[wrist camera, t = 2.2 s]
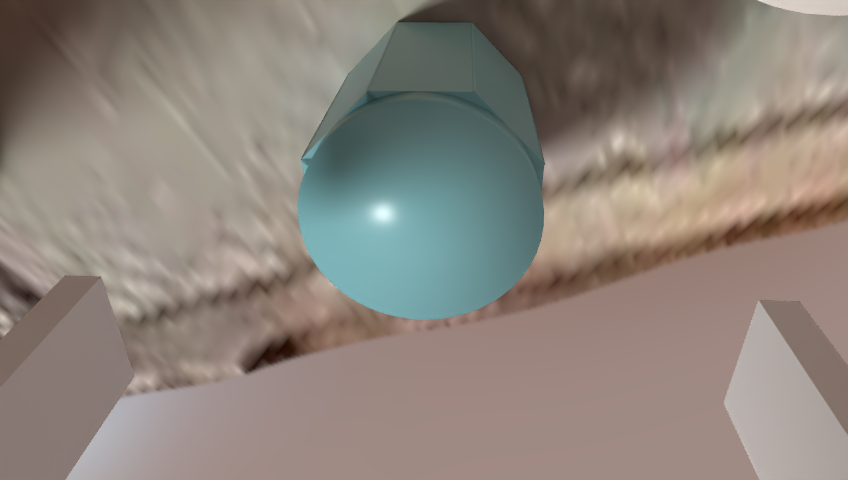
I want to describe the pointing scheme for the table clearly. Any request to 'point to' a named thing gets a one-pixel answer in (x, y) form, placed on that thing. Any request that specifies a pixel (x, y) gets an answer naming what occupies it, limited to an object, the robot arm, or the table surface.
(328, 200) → the teal cap
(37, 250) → the table surface
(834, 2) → the post base
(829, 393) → the robot arm
